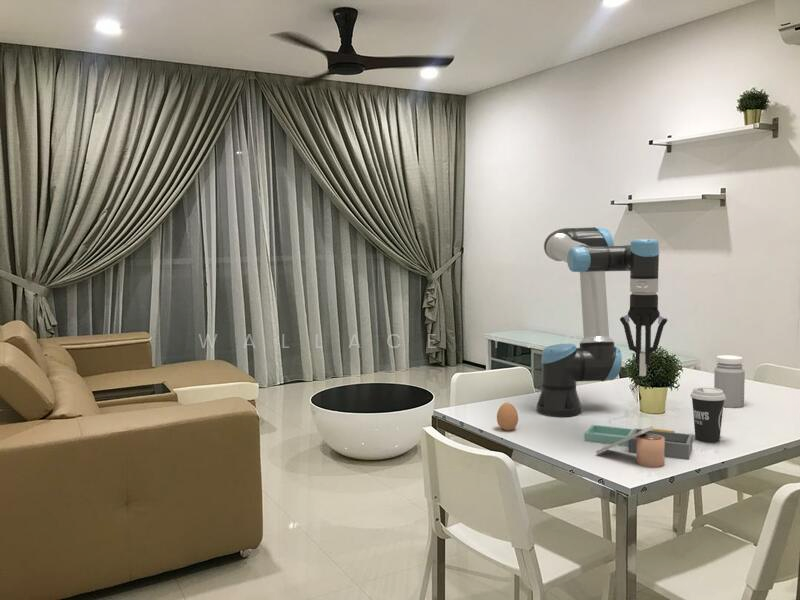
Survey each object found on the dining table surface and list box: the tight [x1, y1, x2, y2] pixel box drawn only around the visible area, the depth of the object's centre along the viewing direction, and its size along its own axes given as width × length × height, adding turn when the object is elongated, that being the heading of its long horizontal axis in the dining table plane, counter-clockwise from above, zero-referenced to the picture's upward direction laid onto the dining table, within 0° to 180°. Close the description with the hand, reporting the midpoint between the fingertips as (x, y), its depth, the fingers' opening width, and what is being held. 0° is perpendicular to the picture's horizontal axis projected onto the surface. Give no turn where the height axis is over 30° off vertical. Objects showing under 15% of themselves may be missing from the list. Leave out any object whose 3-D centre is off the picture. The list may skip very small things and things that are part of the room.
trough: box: [583, 424, 635, 448], centre depth 199 cm, size 13×11×2 cm
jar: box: [713, 354, 746, 409], centre depth 236 cm, size 10×10×18 cm
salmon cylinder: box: [635, 434, 665, 468], centre depth 177 cm, size 7×7×7 cm
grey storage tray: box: [628, 427, 694, 460], centre depth 188 cm, size 16×11×5 cm
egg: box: [496, 402, 519, 431], centre depth 211 cm, size 7×7×9 cm
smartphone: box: [595, 426, 654, 455], centre depth 182 cm, size 7×15×1 cm
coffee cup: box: [689, 386, 726, 444], centre depth 196 cm, size 10×10×15 cm
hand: (642, 375), depth 191 cm, fingers closed
